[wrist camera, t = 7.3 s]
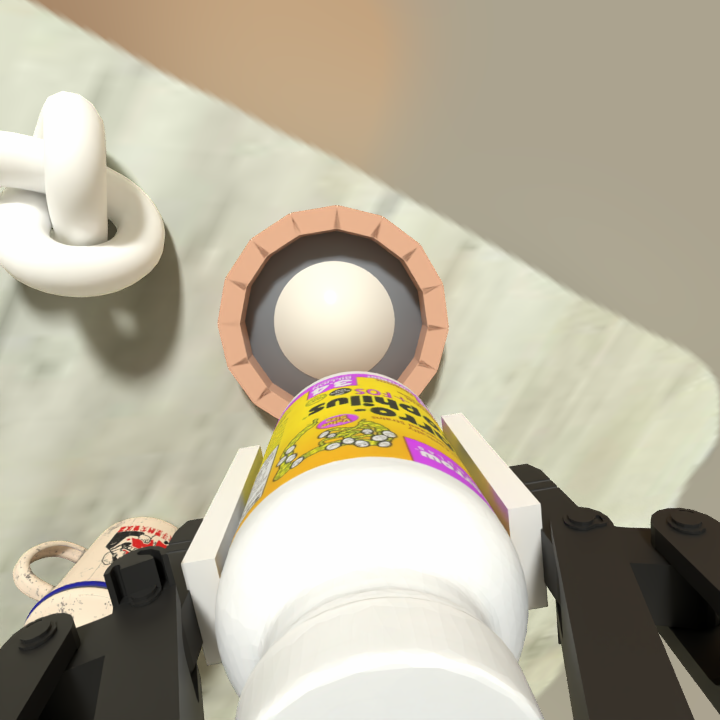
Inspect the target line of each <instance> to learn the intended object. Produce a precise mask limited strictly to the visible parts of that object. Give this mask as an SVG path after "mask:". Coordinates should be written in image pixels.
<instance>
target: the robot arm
mask: <svg viewBox="0 0 720 720" xmlns="http://www.w3.org/2000/svg"><path fill="white" fill-rule="evenodd" d="M441 419H442V427H443V433H444V435H445V436H446V438H447V440H448V441H449V443H450V445H451V446H452V447H453V449H454V451H455V452H456V454H457V455H458V457H459V459H460V460H461V462H462V463H463V465H464V466H465V468H466V469H467V471H468V472H469V474H470V475H471V477H472V478H473V480H474V482H475V483H476V485H477V486H478V488H479V490H480V491H481V493H482V494H483V496H484V497H485V499H486V500H487V502H488V503H489V505H490V506H491V508H492V509H493V511H494V512H495V514H496V516H497V517H498V519H499V520H500V522H501V524H502V525H503V527H504V528H505V530H506V531H507V533H508V535H509V537H510V539H511V540H512V542H513V544H514V547H515V549H516V551H517V553H518V556H519V559H520V562H521V565H522V568H523V571H524V576H525V581H526V586H527V594H528V610H531V609H537V608H542V607H548V601H547V587H548V589H549V590H550V592H551V593H552V595H553V596H554V598H555V599H556V613H557V628H558V643H559V644H561V645H562V651H563V658H564V664H565V670H566V676H567V681H568V688H569V694H570V701H571V706H572V712H573V719H574V720H694V718H693V715H692V713H691V710H690V708H689V706H688V703H687V701H686V698H685V696H684V693H683V691H682V689H681V686H680V684H679V681H678V679H677V677H676V674H675V672H674V669H673V667H672V665H671V662H670V660H669V657H668V655H667V653H666V650H665V648H664V645H663V643H662V640H661V638H660V636H659V634H660V635H661V636H662V637H663V639H664V640H665V642H666V643H667V644H668V646H669V647H670V648H671V650H672V651H673V652H674V654H675V655H676V656H677V658H678V659H679V660H680V662H681V663H682V665H683V666H684V667H685V669H686V670H687V671H688V673H689V674H690V675H691V677H692V678H693V679H694V681H695V682H696V683H697V684H698V686H699V687H700V689H701V690H702V691H703V693H704V694H705V695H706V697H707V698H708V699H709V701H710V702H711V703H712V705H713V706H714V707H715V709H716V710H717V711H718V713H719V714H720V522H718V521H717V520H715V519H713V518H712V517H710V516H708V515H706V514H703V513H700V512H697V511H694V510H690V509H684V508H667V509H663V510H659V511H657V512H655V513H654V514H653V515H652V517H651V528H626V527H616V526H614V525H613V523H612V521H611V520H610V519H609V518H608V516H606V515H604V514H603V513H601V512H599V511H596V510H593V509H590V508H584V507H578V506H577V505H576V504H575V503H574V502H573V501H572V500H571V499H570V498H569V497H568V496H567V495H566V494H565V493H564V492H563V491H562V490H561V489H560V488H559V487H558V488H557V485H556V484H555V483H553V482H552V481H551V480H550V479H549V478H548V477H547V476H546V475H545V474H544V473H543V472H542V471H541V470H540V469H537V468H535V467H533V466H531V465H528V464H523V465H517V466H510V467H508V466H507V465H506V463H505V462H504V461H503V460H502V459H501V458H500V456H499V455H498V454H497V453H496V452H495V451H494V450H493V448H492V447H491V446H490V445H489V444H488V443H487V442H486V440H485V439H484V438H483V437H482V436H481V435H480V433H479V432H478V431H477V430H476V429H475V428H474V427H473V425H472V424H471V423H470V422H469V421H468V420H467V419H466V417H465V416H464V415H463V414H462V413H457V414H450V415H444V416H441ZM262 461H263V456H262V451H261V447H260V445H258V446H252V447H245V448H239V450H238V452H237V454H236V456H235V458H234V460H233V462H232V464H231V466H230V468H229V470H228V472H227V474H226V476H225V478H224V480H223V482H222V484H221V486H220V488H219V490H218V492H217V494H216V496H215V497H214V499H213V501H212V503H211V505H210V507H209V509H208V511H207V513H206V515H205V517H204V518H202V519H196V520H190V521H187V522H186V523H185V524H184V525H183V526H181V527H180V528H179V529H178V530H177V531H176V532H175V533H174V535H173V537H172V538H171V540H170V542H169V545H167V547H166V548H163V547H160V546H147V547H143V548H139V549H136V550H134V551H131V552H129V553H127V554H125V555H123V556H122V557H120V558H118V559H117V560H115V561H114V562H113V563H112V564H111V565H110V566H109V567H108V568H107V569H106V571H105V573H104V575H103V576H104V579H105V583H106V586H107V589H108V592H109V596H110V599H111V602H112V606H113V611H112V614H110V615H108V616H106V617H103V618H101V619H98V620H96V621H93V622H90V623H88V624H85V625H82V626H80V627H77V628H76V626H75V623H74V620H73V618H72V615H70V614H67V613H55V614H51V615H48V616H45V617H41V618H38V619H36V620H35V621H34V622H33V621H32V622H30V623H29V624H27V625H25V626H24V627H23V628H22V629H20V630H19V631H18V632H16V633H15V634H14V635H13V636H12V637H11V638H10V639H9V640H8V641H7V642H6V643H5V644H4V645H3V646H2V648H1V649H0V720H204V711H203V699H202V687H201V677H200V674H199V670H198V666H197V659H198V656H199V653H200V650H201V647H202V648H203V651H204V655H205V659H206V663H207V665H213V664H219V663H222V661H221V657H220V654H219V649H218V644H217V639H216V633H215V605H216V595H217V590H218V585H219V581H220V577H221V573H222V570H223V567H224V564H225V561H226V558H227V555H228V551H229V548H230V545H231V543H232V540H233V538H234V535H235V533H236V530H237V527H238V525H239V522H240V519H241V517H242V514H243V512H244V509H245V506H246V504H247V501H248V499H249V496H250V493H251V490H252V488H253V485H254V482H255V479H256V476H257V474H258V472H259V469H260V466H261V464H262ZM546 586H547V587H546ZM658 632H659V633H658Z"/></svg>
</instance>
